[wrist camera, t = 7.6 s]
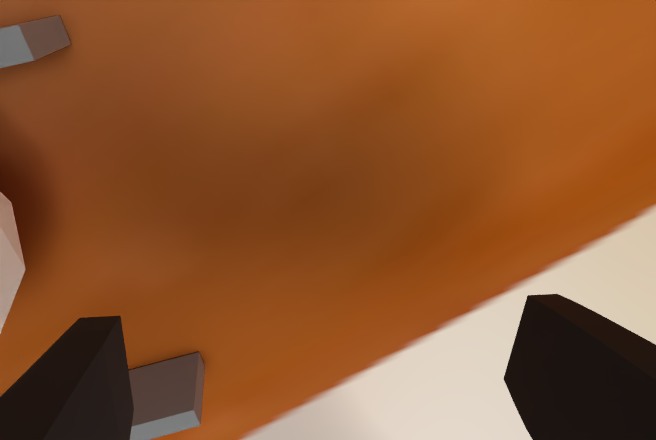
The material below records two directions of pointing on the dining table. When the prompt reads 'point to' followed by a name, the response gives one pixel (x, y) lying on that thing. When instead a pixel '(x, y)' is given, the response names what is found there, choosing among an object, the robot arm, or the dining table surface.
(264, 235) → the dining table surface
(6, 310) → the geometric ball
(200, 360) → the tray
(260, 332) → the dining table surface
